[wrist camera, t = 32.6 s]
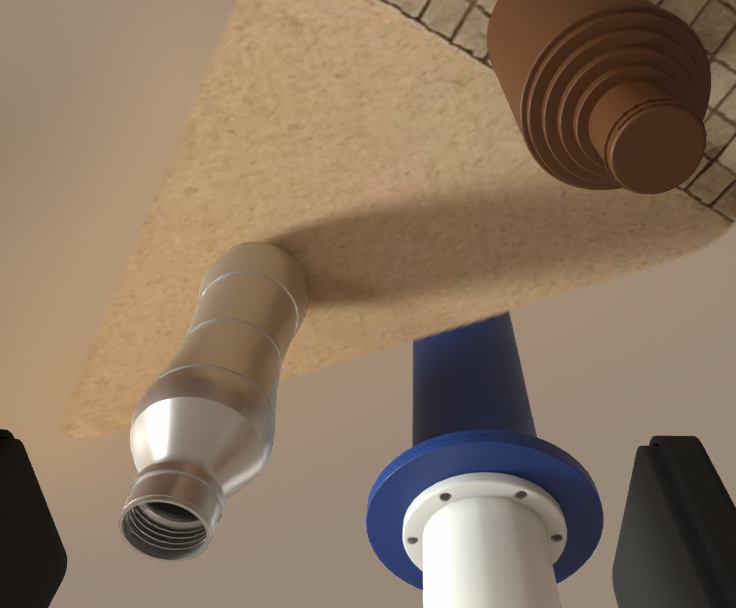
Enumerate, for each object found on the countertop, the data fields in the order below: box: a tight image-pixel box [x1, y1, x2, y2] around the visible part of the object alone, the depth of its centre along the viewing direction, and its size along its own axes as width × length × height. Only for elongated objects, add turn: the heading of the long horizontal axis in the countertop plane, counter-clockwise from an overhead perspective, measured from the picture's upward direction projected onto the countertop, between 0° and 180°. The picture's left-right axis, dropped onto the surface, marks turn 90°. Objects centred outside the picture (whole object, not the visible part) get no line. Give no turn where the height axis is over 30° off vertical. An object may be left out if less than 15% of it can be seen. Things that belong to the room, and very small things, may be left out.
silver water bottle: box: [118, 242, 308, 562], centre depth 35 cm, size 6×7×20 cm
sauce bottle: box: [487, 0, 711, 194], centre depth 27 cm, size 6×6×18 cm
